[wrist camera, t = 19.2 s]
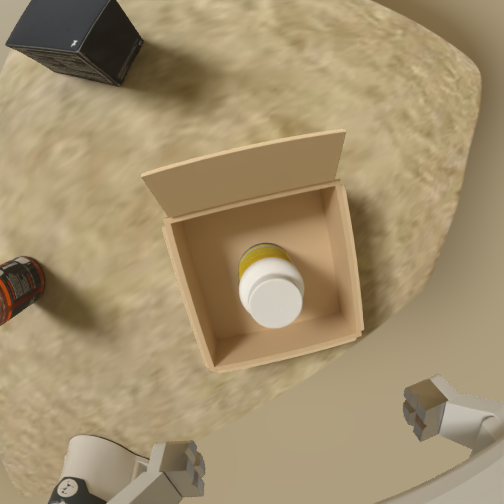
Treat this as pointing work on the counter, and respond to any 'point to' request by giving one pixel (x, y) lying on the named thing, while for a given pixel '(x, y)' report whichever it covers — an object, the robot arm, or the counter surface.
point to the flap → (246, 172)
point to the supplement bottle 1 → (19, 286)
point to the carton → (300, 252)
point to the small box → (78, 38)
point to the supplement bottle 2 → (270, 285)
